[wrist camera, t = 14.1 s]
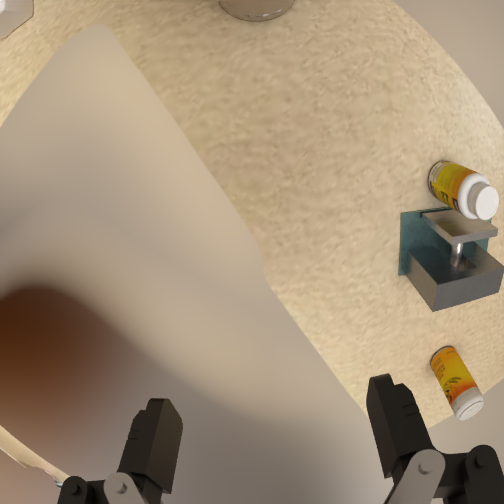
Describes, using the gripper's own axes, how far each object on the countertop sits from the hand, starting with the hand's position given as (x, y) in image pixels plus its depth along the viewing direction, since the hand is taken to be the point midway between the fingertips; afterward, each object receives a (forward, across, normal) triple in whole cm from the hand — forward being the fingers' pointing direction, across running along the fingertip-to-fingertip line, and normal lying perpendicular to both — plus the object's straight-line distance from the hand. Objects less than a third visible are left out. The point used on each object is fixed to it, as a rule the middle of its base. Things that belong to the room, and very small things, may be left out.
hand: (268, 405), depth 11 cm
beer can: (+28, -31, +36) cm, 55 cm away
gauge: (+28, -27, +9) cm, 40 cm away
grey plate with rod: (+27, -28, +9) cm, 40 cm away
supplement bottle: (+28, -25, 0) cm, 38 cm away
